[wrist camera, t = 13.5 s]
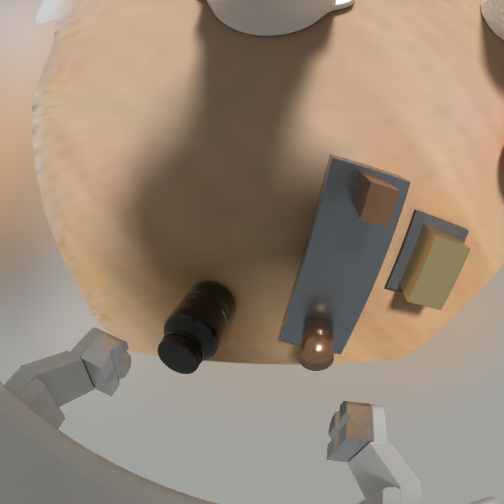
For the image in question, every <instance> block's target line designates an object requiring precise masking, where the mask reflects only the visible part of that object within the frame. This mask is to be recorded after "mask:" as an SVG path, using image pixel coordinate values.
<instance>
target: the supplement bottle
mask: <svg viewBox="0 0 504 504" xmlns="http://www.w3.org/2000/svg"><path fill="white" fill-rule="evenodd" d="M235 309H236V305H235V300H234V298H233V296H232V294H231V293H230V292H229V291H228V290H227V289H226V288H225V287H224V286H222V285H220V284H218V283H216V282H211V281H204V282H200V283H198V284H196V285H195V286H194V287H193V288H192V289H191V290H190V291H189V292H188V294H187V295H186V296H185V297H184V299H183V300H182V301H181V302H180V304H179V305H178V306H177V307H176V309H175V310H174V311H173V312H172V314H171V315H170V316H169V318H168V319H167V320H166V322H165V325H164V338H163V340H162V342H161V343H160V344H159V347H158V355H159V357H160V359H161V360H162V361H163V363H164V364H165V365H166V366H168V367H169V368H170V369H172V370H174V371H176V372H179V373H183V374H189V373H190V374H191V373H193V372H194V371H196V369H197V368H198V366H199V364H200V363H201V362H202V361H203V360H206V359H208V358H210V357H212V356H213V355H214V354H215V352H216V351H217V349H218V347H219V345H220V343H221V341H222V339H223V337H224V335H225V333H226V331H227V328H228V326H229V324H230V322H231V320H232V318H233V316H234V313H235Z"/></svg>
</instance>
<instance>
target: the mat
mask: <svg viewBox="0 0 504 504" xmlns="http://www.w3.org/2000/svg"><path fill="white" fill-rule="evenodd" d="M423 224H427V225H429V226H432V227H435V228H438V229H440V230H443V231H446V232H448V233H451V234H454V235H456V236H457V237H459V238H460V239H461V240H462V241H463V242H465V239H466V237H467V234H468V230H467V229H465V228H462V227H460V226H457V225H455V224H452V223H450V222H447V221H445V220H442V219H439V218H437V217H434V216H431V215H429V214H426V213H423V212H421V211H418V210H414V213H413V216H412V219H411V222H410V225H409V228H408V230H407V233H406V236H405V239H404V241H403V244H402V246H401V249H400V252H399V254H398V257H397V259H396V262H395V264H394V267H393V269H392V271H391V274H390V276H389V278H388V281H387V283H386V287H387V288H390V289H394V290H398V291H402V289H401V287H400V284H399V283H400V281H401V279H402V277H403V274H404V272H405V270H406V267H407V265H408V263H409V260H410V258H411V255H412V253H413V250H414V248H415V245H416V243H417V240H418V237H419V235H420V232H421V229H422V226H423ZM402 292H403V291H402Z"/></svg>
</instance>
